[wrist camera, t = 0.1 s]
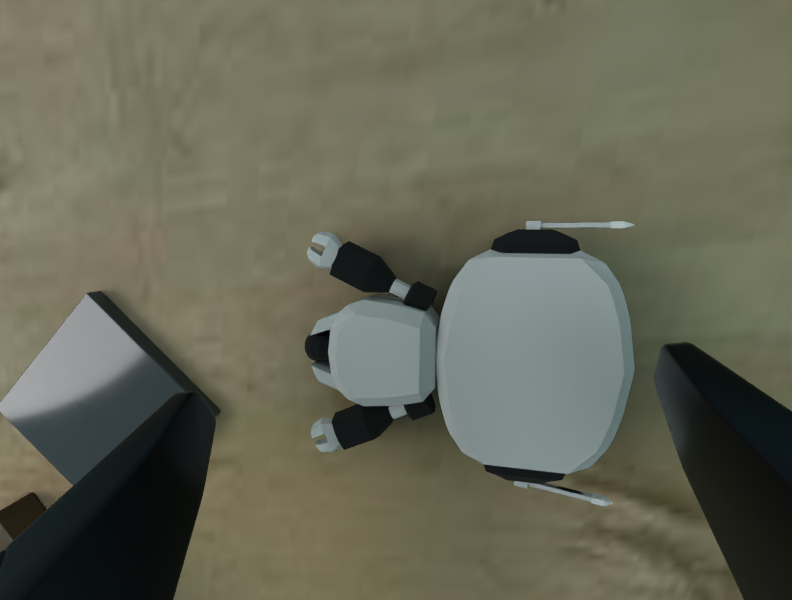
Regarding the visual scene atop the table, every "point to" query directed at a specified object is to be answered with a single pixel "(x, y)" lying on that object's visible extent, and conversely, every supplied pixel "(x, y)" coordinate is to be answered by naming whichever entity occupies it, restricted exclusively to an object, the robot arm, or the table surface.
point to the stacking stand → (18, 518)
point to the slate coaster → (91, 387)
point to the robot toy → (484, 354)
